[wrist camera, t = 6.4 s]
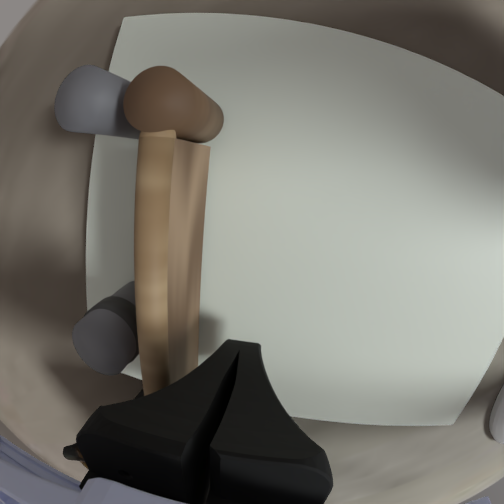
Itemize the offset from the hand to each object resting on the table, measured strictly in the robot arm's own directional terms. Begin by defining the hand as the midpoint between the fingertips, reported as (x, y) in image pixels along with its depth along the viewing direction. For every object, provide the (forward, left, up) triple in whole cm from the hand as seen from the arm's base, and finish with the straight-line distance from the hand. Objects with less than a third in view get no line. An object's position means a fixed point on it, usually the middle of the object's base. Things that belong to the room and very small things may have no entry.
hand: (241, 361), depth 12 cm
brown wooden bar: (+3, -3, -1) cm, 4 cm away
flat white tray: (-3, -5, -2) cm, 6 cm away
